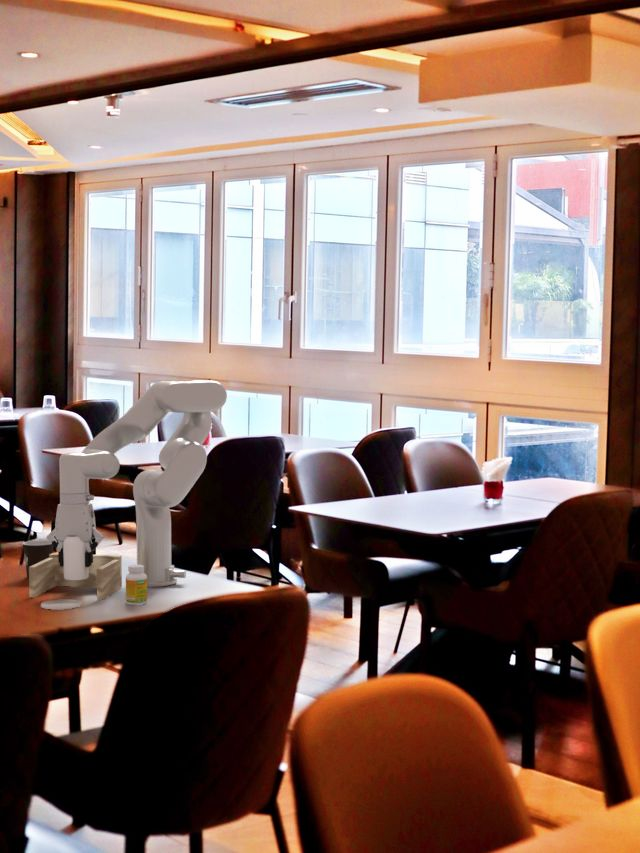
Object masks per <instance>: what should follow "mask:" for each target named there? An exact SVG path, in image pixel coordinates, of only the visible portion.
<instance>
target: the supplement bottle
mask: <svg viewBox="0 0 640 853" xmlns="http://www.w3.org/2000/svg"><path fill="white" fill-rule="evenodd" d="M127 568H128V569H127V570H128V572H129V573H128V574H126V576H125V603H126V604H127V605H131V606H143V605H145V604H147V603H148V587H147V575H146V574H144V573H143V571H144V565H137V564H129V565H128V567H127Z"/></svg>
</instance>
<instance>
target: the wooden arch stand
mask: <svg viewBox="0 0 640 853" xmlns="http://www.w3.org/2000/svg"><path fill="white" fill-rule="evenodd" d="M122 563H123V562H122V555H115V554H114V555H113V554H109V555H108V554H93V563H92V565H91V566H89V567H88V578H87V579H86V580H82V581H67V580H65V579H64V566H60V563H59V561H58V553H53V554H50V555H49V558H47V559H45V560H43V561H41V562H39V563H36V564H34V565H32V566H30V567H29V579H28V587H29V588H28V589H29V594H28V595H29V598H36V597H38V596H40V595H42V594H44V593H45V592H44V591H46V590H48V589H49V590H51V589H53V588H54V586H55V587H56V586H71V587H70V588H87V587H96V600H99V599H103V600H104V599H106V598H107V597H109V596H111V595H113V594H114V593H116V592H117V591H119V590H120V589H122V588H123V580H122V579H123V576H122V575H123V574H122V573H123V572H122V570H123V569H122V568H123V567H122ZM52 587H53V588H52ZM121 587H122V588H121ZM50 588H51V589H50ZM118 589H119V590H118ZM49 590H48V591H49ZM43 592H44V593H43ZM46 592H47V591H46ZM41 593H42V594H41Z"/></svg>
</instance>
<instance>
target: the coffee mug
mask: <svg viewBox="0 0 640 853" xmlns="http://www.w3.org/2000/svg"><path fill="white" fill-rule="evenodd" d="M22 548H23V557H24V562H25V569H26V570H25V571H26V577H27V578H28V579H27V580H29V567H30V566H32V565H34V564H36V563H39V562H41V561H43V560H45V559H47V558H49V555H50V554H54V546H53V545H52V543H51V542H50V541H49V540H43V539H42V540H29V541H28V540H27V541H24V542H22Z"/></svg>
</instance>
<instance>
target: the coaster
mask: <svg viewBox="0 0 640 853" xmlns="http://www.w3.org/2000/svg"><path fill="white" fill-rule="evenodd" d="M79 606H80V607H81V606H82V602H81V601H80V600H77V599H72V598H71V599H68V598H64V599H63V598H61V599H60V598H59V599H52V600H46V601H43V602H41V603H40V608H41V609H43V608H44V609H43V610H48V609H51V610H50V611H65V610H64V609H67V610H73V609H72V608H74V609H77V608H79ZM76 607H77V608H76Z"/></svg>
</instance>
